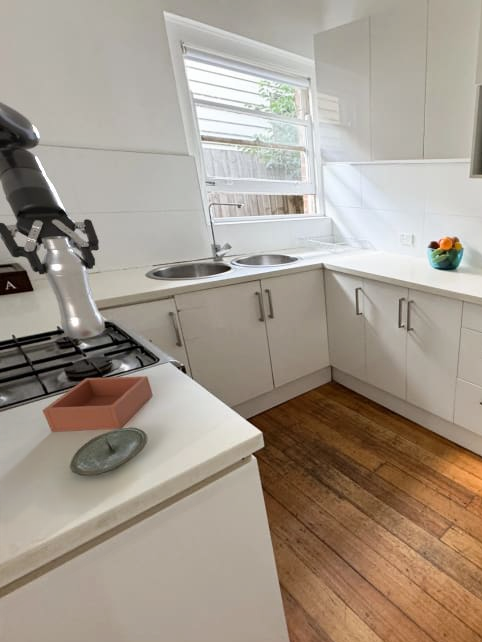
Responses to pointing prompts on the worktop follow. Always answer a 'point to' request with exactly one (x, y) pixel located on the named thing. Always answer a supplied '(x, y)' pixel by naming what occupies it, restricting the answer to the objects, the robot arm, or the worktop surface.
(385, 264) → the worktop surface
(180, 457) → the worktop surface
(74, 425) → the caddy
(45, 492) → the worktop surface
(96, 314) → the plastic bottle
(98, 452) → the lid
